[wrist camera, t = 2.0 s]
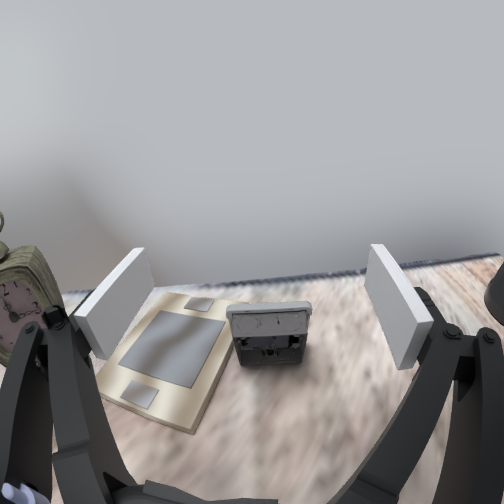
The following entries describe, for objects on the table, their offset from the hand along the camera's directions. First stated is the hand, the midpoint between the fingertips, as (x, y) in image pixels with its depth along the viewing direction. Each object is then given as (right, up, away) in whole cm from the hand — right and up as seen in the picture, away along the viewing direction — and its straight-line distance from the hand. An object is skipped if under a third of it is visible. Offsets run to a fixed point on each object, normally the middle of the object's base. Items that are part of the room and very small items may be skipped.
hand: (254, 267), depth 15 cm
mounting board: (-11, -13, +19) cm, 25 cm away
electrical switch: (+3, -13, +17) cm, 22 cm away
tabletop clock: (-32, -16, +16) cm, 40 cm away
